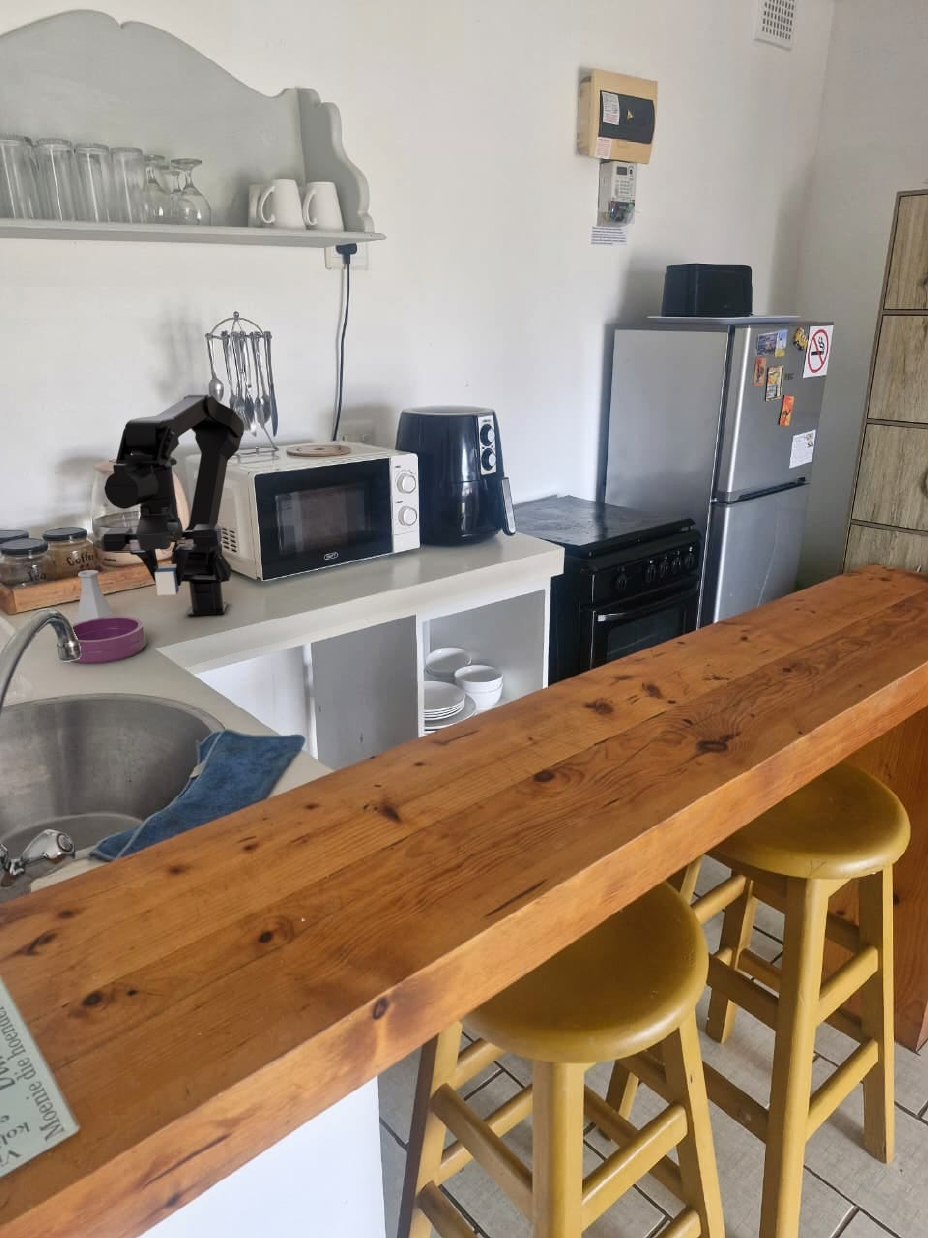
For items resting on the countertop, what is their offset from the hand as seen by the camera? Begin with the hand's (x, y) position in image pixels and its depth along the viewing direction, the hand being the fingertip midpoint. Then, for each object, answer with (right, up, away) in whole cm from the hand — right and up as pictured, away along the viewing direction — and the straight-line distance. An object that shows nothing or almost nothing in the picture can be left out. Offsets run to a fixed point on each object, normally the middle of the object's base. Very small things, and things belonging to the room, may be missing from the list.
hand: (169, 585), depth 150 cm
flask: (-16, -7, +8) cm, 19 cm away
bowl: (-9, -11, -5) cm, 15 cm away
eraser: (0, -1, 0) cm, 1 cm away
